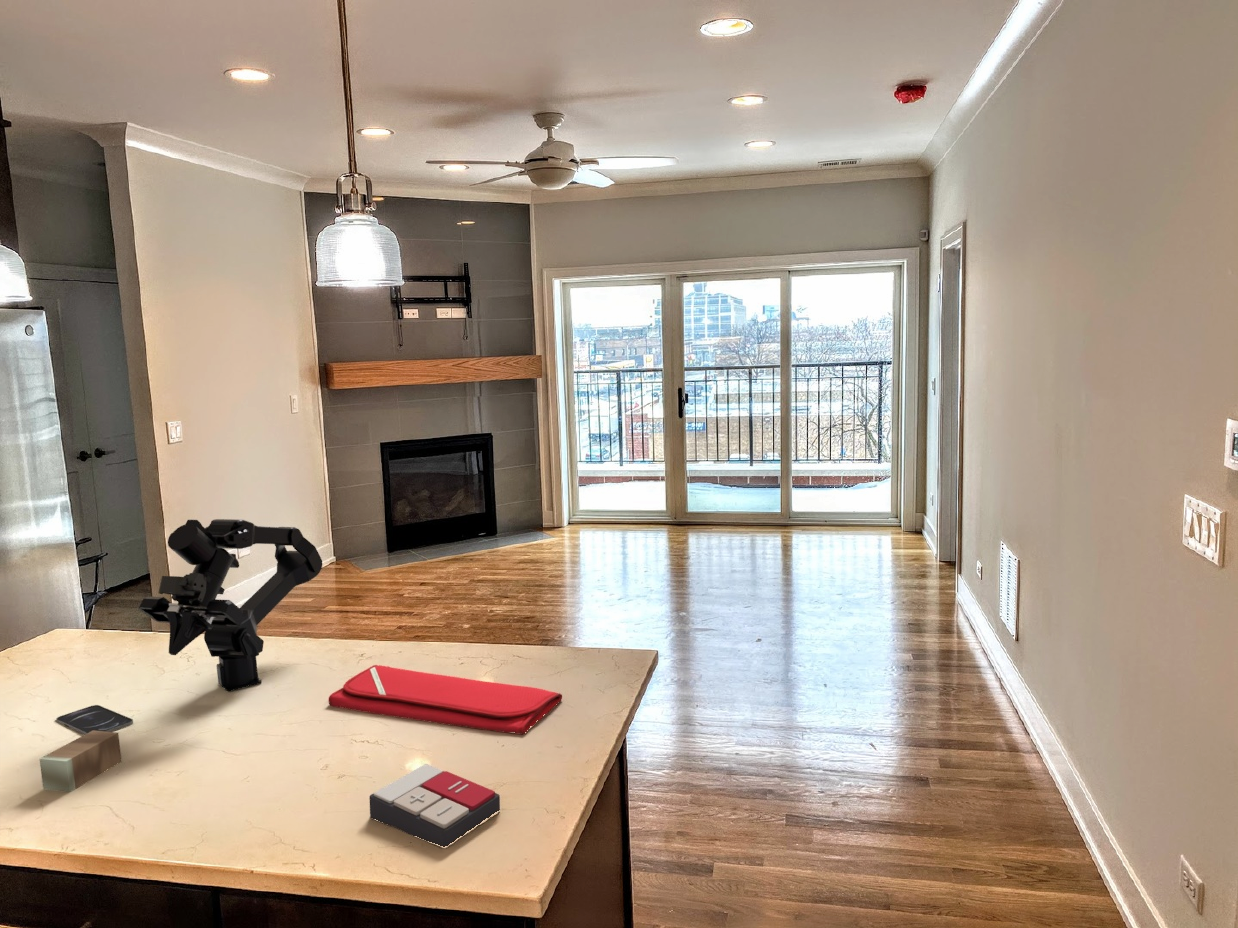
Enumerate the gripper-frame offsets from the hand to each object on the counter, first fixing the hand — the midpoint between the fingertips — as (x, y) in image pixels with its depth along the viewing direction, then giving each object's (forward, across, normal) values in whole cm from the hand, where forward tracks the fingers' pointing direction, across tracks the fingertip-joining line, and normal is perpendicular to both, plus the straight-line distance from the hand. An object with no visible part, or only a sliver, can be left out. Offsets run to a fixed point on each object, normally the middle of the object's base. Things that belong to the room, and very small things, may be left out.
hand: (171, 654), depth 156 cm
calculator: (+24, +61, -6) cm, 66 cm away
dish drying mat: (-1, +45, +20) cm, 49 cm away
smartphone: (+12, -15, +6) cm, 20 cm away
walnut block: (+18, 0, -4) cm, 19 cm away
